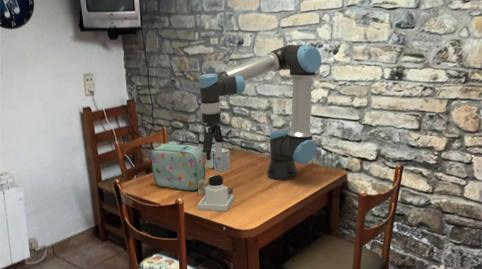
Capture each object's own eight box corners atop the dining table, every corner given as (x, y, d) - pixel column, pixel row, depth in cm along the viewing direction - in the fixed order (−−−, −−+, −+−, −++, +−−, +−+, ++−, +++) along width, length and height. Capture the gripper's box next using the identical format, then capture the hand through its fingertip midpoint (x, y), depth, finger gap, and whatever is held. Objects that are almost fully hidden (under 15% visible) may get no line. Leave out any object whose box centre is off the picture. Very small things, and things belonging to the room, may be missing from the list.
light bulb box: (208, 168, 244) (207, 148, 241) (218, 165, 248) (217, 146, 246) (221, 172, 236) (220, 152, 234) (231, 169, 241) (230, 149, 238)
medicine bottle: (228, 202, 193) (227, 176, 190) (215, 207, 189) (213, 180, 186) (219, 198, 199) (217, 172, 196) (205, 202, 195) (203, 176, 192)
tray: (234, 200, 198) (233, 194, 198) (226, 211, 186) (226, 205, 186) (206, 198, 201) (206, 193, 200) (197, 209, 189) (197, 204, 189)
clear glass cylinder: (209, 192, 209) (208, 180, 207) (206, 195, 205) (206, 182, 203) (201, 191, 210) (200, 179, 208) (198, 195, 206) (197, 182, 204)
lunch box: (210, 186, 217) (208, 143, 212) (200, 193, 208) (197, 148, 202) (163, 180, 228) (160, 139, 222) (152, 187, 218) (148, 144, 213)
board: (232, 192, 208) (232, 187, 208) (229, 199, 201) (228, 193, 200) (211, 191, 210) (211, 186, 210) (207, 198, 203) (207, 193, 202)
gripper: (211, 106, 197) (214, 152, 202) (192, 119, 173) (196, 171, 178) (227, 106, 195) (230, 153, 200) (210, 119, 171) (214, 171, 177)
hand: (214, 161), depth 189 cm, fingers open, 13 cm apart
